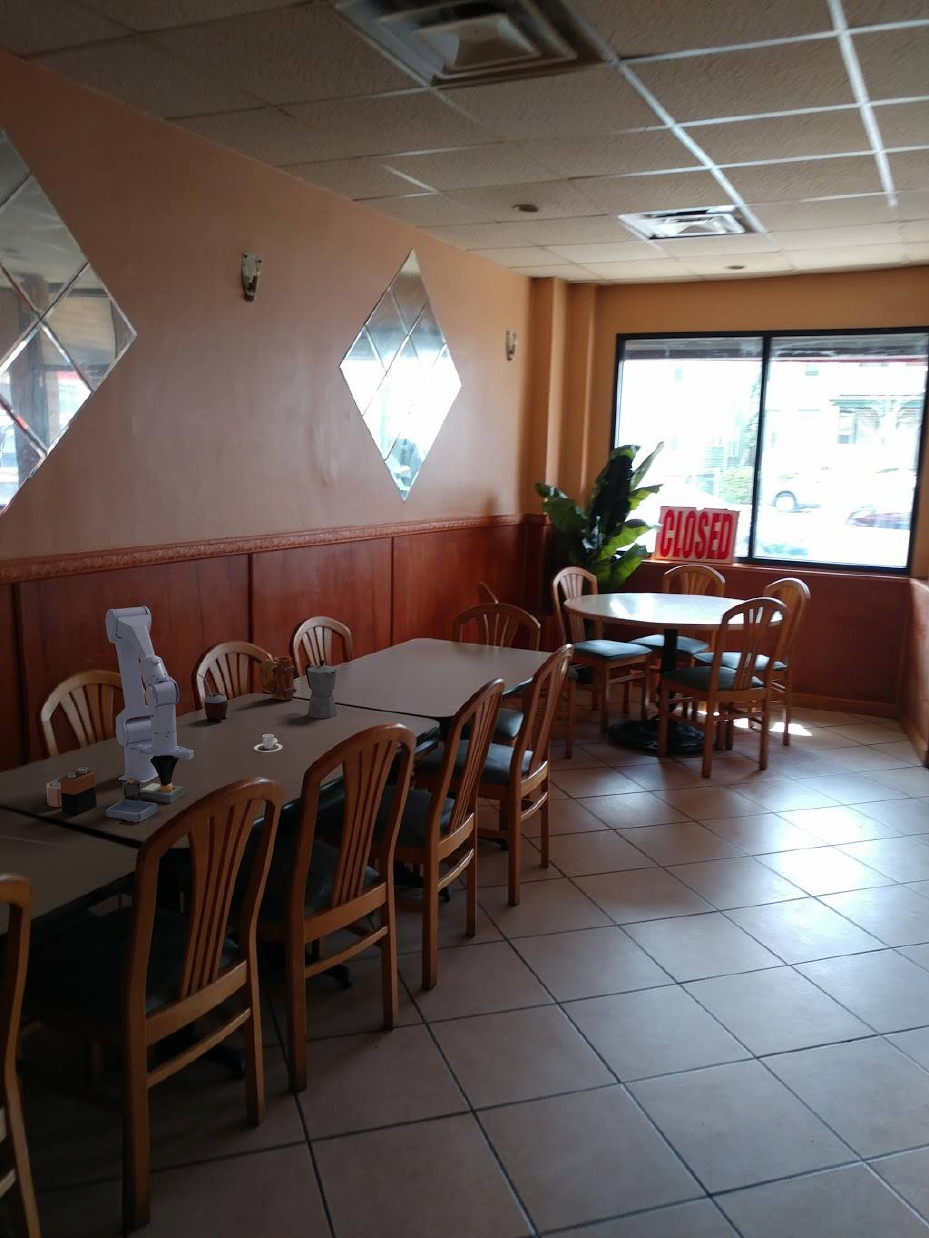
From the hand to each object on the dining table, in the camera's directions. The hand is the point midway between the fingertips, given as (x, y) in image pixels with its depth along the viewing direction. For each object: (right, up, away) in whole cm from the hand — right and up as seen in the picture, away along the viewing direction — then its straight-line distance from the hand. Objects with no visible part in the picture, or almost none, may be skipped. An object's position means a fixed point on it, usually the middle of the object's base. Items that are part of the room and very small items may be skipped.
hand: (166, 784), depth 228 cm
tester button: (0, -3, +1) cm, 3 cm away
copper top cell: (-7, -4, -4) cm, 9 cm away
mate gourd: (-5, +8, +64) cm, 65 cm away
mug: (+10, +13, +88) cm, 89 cm away
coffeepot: (+26, +10, +73) cm, 78 cm away
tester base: (-2, -3, +1) cm, 4 cm away
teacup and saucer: (+19, +3, +41) cm, 45 cm away
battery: (-17, -5, -9) cm, 20 cm away
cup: (-23, -4, -4) cm, 24 cm away
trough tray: (-5, -5, -10) cm, 13 cm away
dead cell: (-23, -3, -4) cm, 24 cm away
